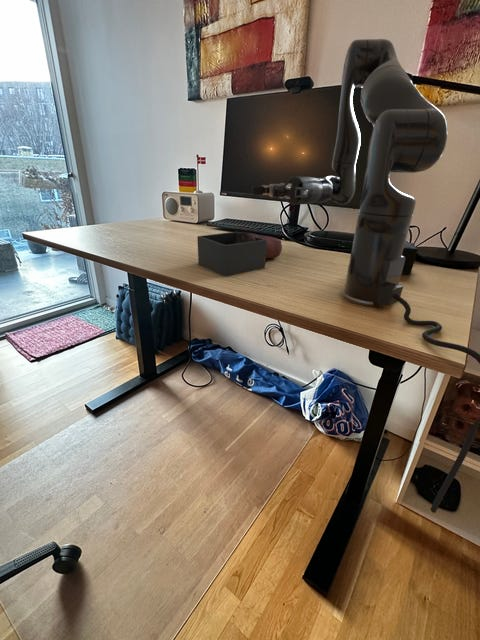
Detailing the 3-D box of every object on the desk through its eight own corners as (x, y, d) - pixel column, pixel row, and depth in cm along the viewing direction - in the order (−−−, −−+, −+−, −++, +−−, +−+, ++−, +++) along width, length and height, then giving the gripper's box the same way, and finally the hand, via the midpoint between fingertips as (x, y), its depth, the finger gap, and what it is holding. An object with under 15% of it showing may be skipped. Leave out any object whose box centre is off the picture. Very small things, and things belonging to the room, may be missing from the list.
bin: (264, 267, 82) (266, 239, 78) (225, 276, 74) (225, 245, 71) (236, 257, 91) (236, 231, 88) (198, 263, 84) (197, 236, 80)
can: (245, 226, 80) (279, 233, 89) (231, 240, 84) (265, 245, 93) (252, 246, 78) (286, 251, 87) (237, 258, 83) (272, 262, 92)
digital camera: (415, 275, 79) (423, 248, 76) (393, 273, 80) (400, 247, 77) (404, 264, 88) (411, 240, 85) (384, 263, 89) (390, 239, 86)
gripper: (287, 176, 92) (246, 175, 83) (324, 177, 82) (282, 176, 73) (285, 202, 95) (245, 204, 86) (321, 206, 85) (280, 209, 76)
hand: (262, 191), depth 80 cm, fingers open, 8 cm apart
